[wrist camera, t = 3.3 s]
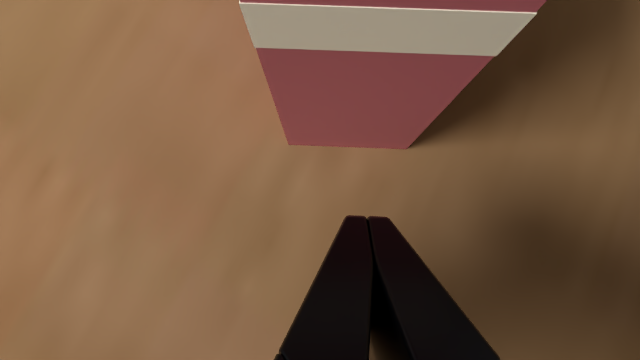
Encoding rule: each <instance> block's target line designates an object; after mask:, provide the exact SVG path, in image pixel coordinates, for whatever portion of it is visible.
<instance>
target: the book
mask: <svg viewBox="0 0 640 360" xmlns="http://www.w3.org/2000/svg"><path fill="white" fill-rule="evenodd" d="M546 1H547V0H239V5H240V8H241V11H242V14H243V17H244V19H245V22H246V25H247V28H248V31H249V34H250V37H251V40H252V42H253V45H254V48H256V50H257V53H258V56H259V59H260V62H261V65H262V67H263V70H264V73H265V76H266V79H267V82H268V85H269V88H270V91H271V94H272V97H273V100H274V103H275V106H276V109H277V112H278V115H279V117H280V120H281V123H282V126H283V129H284V132H285V135H286V138H287V141H288V144H289V145H311V146H338V147H364V148H391V149H407V148H408V147H409V146H410V145H411V144H412V143H413V142H414V141H415V139H416V138H417V137H418V136H419V135H420V134H421V133H422V132H423V131H424V130H425V129H426V128H427V127H428V126H429V125H430V124H431V123H432V121H433V120H434V119H435V118H436V117H437V116H438V115H439V114H440V113H441V112H442V111H443V110H444V109H445V108H446V107H447V106H448V105H449V104H450V102H451V101H452V100H453V99H454V98H455V97H456V96H457V95H458V94H459V93H460V92H461V91H462V90H463V89H464V88H465V87H466V86H467V84H468V83H469V82H470V81H471V80H472V79H473V78H474V77H475V76H476V75H477V74H478V73H479V72H480V71H481V70H482V69H483V68H484V67H485V65H486V64H487V63H488V62H489V61H490V60H491V59H492V58H493V57H494V56H497V55H498V54H499V53H500V52H501V51H502V50H503V49H504V48H505V47H506V46H507V45H508V44H509V42H510V41H511V40H512V39H513V38H514V37H515V36H516V35H517V34H518V33H519V32H520V31H521V30H522V29H523V28H524V27H525V26H526V25H527V24H528V23H529V22H530V21H531V19H532V18H533V17H534V16H535V15H536V14H537V10H538V9H539V8H540V7H541V6H542V5H543V4H544V3H545V2H546Z"/></svg>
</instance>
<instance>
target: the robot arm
mask: <svg viewBox="0 0 640 360" xmlns="http://www.w3.org/2000/svg"><path fill="white" fill-rule="evenodd" d="M369 359H370V360H500V358H499V356H498V355H497V354H496V352H495V351H494V350H493V349H492V347H491V346H490V345H489V344H488V342H487V341H486V340H485V339H484V337H483V336H482V335H481V334H480V332H479V331H478V330H477V329H476V327H475V326H474V325H473V324H472V322H471V321H470V320H469V318H468V317H467V316H466V315H465V313H464V312H463V311H462V310H461V308H460V307H459V306H458V305H457V303H456V302H455V301H454V300H453V298H452V297H451V296H450V295H449V293H448V292H447V291H446V289H445V288H444V287H443V286H442V284H441V283H440V282H439V281H438V279H437V278H436V277H435V276H434V274H433V273H432V272H431V271H430V269H429V268H428V267H427V266H426V264H425V263H424V262H423V260H422V259H421V258H420V257H419V255H418V254H417V253H416V252H415V250H414V249H413V248H412V247H411V245H410V244H409V243H408V242H407V240H406V239H405V238H404V237H403V235H402V234H401V233H400V232H399V230H398V229H397V228H396V226H395V225H394V224H393V223H392V221H391V220H390V219H389V218H387V217H378V216H369V217H368V218H367V219H366V217H365V216H352V215H348V216H346V217H345V218H344V220H343V222H342V224H341V226H340V228H339V230H338V232H337V234H336V237H335V239H334V241H333V243H332V245H331V247H330V249H329V251H328V253H327V255H326V257H325V259H324V261H323V263H322V265H321V267H320V269H319V271H318V273H317V275H316V277H315V279H314V281H313V283H312V285H311V287H310V289H309V291H308V293H307V295H306V297H305V299H304V301H303V303H302V305H301V307H300V309H299V311H298V313H297V315H296V317H295V319H294V321H293V323H292V325H291V327H290V329H289V331H288V333H287V335H286V337H285V339H284V341H283V343H282V345H281V347H280V349H279V354H277V355H276V356H275V358H274V360H369Z"/></svg>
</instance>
